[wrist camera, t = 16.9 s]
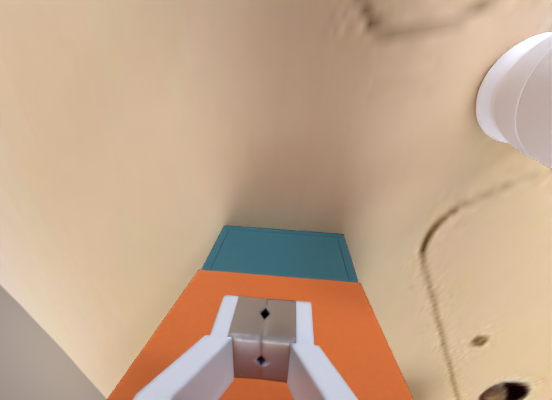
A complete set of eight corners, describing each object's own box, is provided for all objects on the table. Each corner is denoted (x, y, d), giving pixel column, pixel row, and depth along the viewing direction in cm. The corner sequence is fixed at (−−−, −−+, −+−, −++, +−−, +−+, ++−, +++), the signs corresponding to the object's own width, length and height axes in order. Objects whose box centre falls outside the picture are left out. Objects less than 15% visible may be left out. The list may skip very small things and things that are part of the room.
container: (326, 331, 35) (334, 393, 28) (229, 322, 36) (212, 380, 29) (343, 233, 29) (358, 282, 22) (224, 225, 29) (200, 269, 22)
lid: (554, 750, 5) (567, 733, 5) (-50, 648, 6) (-58, 629, 6) (359, 290, 21) (360, 282, 21) (199, 277, 22) (198, 269, 22)
